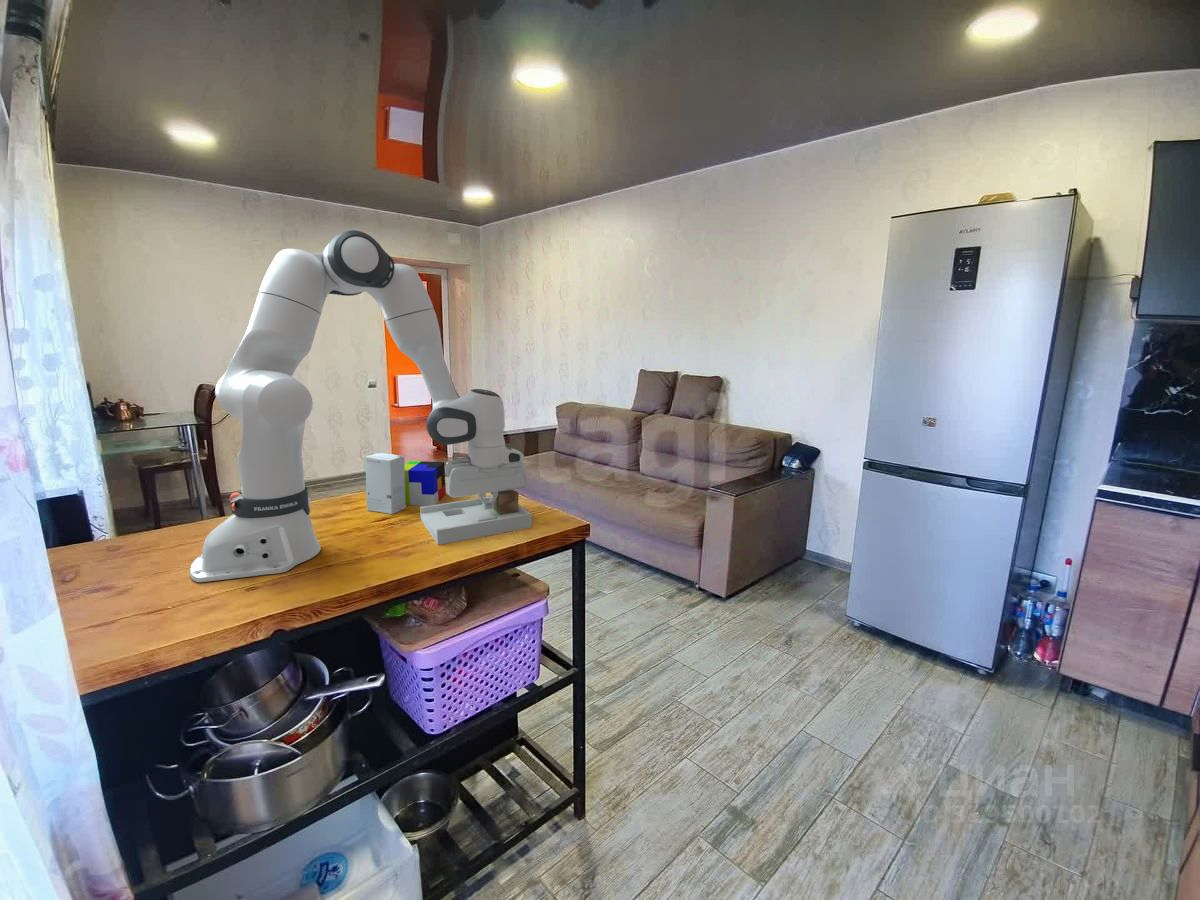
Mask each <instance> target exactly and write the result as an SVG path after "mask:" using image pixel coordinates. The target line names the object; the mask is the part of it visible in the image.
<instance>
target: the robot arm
mask: <svg viewBox="0 0 1200 900" xmlns="http://www.w3.org/2000/svg"><path fill="white" fill-rule="evenodd" d="M364 292H365V293H367V294H368V295H370V296H371V297H372V298H373V299H374V300H375V302H376V303H377V305H378V307H379V308H380V310H381V313H382V316H383V320H384V322H385V326H386V328H387V331H388V333H389V334H390V336H391V338H392V340H393V341H394V343H395V345H396V347H397V349H398V350H399V351H400V352H401V353H402V354H404V355H405V356H406V357H408V358H409V359H410V360H411V361H412V362H413V363H414V364H415V365H416V366H417V368H418V370H419V372H420V374H421V376H422V377H423V381H424V383H425V385H426V388H427V391H428V393H429V395H430V398H431V399H430V400H431V402H432V403H431V404H432V408H431V409H432V410H431V412H430V413H429V415H428V417H427V418H426V419H427V420H426V431H427V434H428V435H429V437H430V439H432V440H433V441H434V442H436V443H438V444H440V445H444V446H445V445H446V446H450V445H455V444H461V443H466V442H468V443H467V444H468V446H467V447H468V457H460V458H452V459H450V461H447V462H446V464H444V466H445V487H446V495H448V496H449V497H451V498H453V499H454V498H460V497H462V498H463V497H467V496H468V497H469V496H475V495H477V496H478V497H477V498H480V500H481V501H482V505H483V509H484V510H487V509H494V502H495V500H496V498H497V497H498V491H505V490H512V489H513V490H518V489H523V488H526V486H527V485H528V483H529V482H528V481H529V479H528V469H527V465H526V464H525V462H524V460H525V454H524V453H523V452H521V451H520V450H518V449H515V448H512V447H507V446H506V441H505V438H504V431H505V427H506V425H505V421H506V420H505V409H504V403H503V398H502V397H501V396H500V395H499V394H498V393H497V392H495V391H492V390H488V389H481V388H473V389H470V390H469V391H468V392H467V393H466V394H464V395H462V396H460V395H459V394H458V393H457V390H456V387H455V385H454V383H453V380H452V377H451V374H450V371H449V369H448V366H447V363H446V361H445V356H444V352H443V351H444V349H443V344H442V337H441V335H442V334H441V329H440V325H439V321H438V316H437V314H436V311H435V309H434V308H435V307H434V306H433V302H432V300H431V298H430V295H429V293H428V291H427V288H426V287H425V285H424V283H423V281H422V279H421V277H420V275H419V273H418V271H416V269H415V268H414V267H412V266H411V265H409V264H405V263H395V261H394V259H393V258H392V256H390V254H388V252H386V251H385V250H384V248H383V247H382V246H381V244H380V243H379V242H378V241H377V240H376V239H375V238H373V237H372V236H371V235H369V234H368V233H366V232H363V231H360V230H354V229H352V230H351V229H350V230H346V231H341V232H339V233H337V234H336V235H335V236H334V237H332V238H331V240H330V241H329V242H328V243H327V245H326V246H324V248H323V249H322V251H320V252H318V253H311V252H308V251H307V250H303V249H300V248H285V249H282V250H280V251H278V252H277V254H275V257H274V258H273V259H272V262H271V263H270V265H269V267H268V269H267V270H266V273H265V274H264V277H263V280H262V282H261V284H260V287H259V291H258V293H257V294H258V295H256V296H257V297H256V300H255V303H254V306H253V310H252V313H251V316H250V319H249V322H248V326H247V329H246V331H245V333H244V335H243V338H242V340H241V342H240V343H239V346H238V348H236V351H235V352H234V355H233V357H232V358H231V360H230V362H229V365H228V366H227V368H226V371H225V373H224V374H223V375H222V376H221V377H220V378H219V379H218V381H217V383H216V385H215V390H214V395H215V398H216V401H217V402H218V404H219V406H220V407H221V408H222V409H223V411H225V413H227V414H228V415H229V416H230V417H232V418H234V419H237V420H238V421H239V420H240V422H241V427H242V428H241V429H242V431H241V441H240V449H239V452H238V454H237V457H236V462H237V469H238V476H239V483H240V489H241V490H240V491H241V493H239V492H233V493H231V495H230V496H229V503H230V509H231V515H230V516H228V517H227V518H225V520H224V521H222V522H221V523H220V524H218V525H217V526H216V527H214V529H212V530H211V531H210V532H209V533H208V534H207V536H206V538H205V540H204V543H203V546H202V551H201V553H202V554H201V555H199V556H198V557H197V558H195V559H194V561H193V562H192V563H191V565H190V568H189V572H190V573H189V574H190V575H189V577H190V578H191V580H193V581H194V582H197V583H205V582H213V581H214V582H215V581H223V580H230V579H239V578H247V577H249V578H250V577H257V576H258V577H259V576H265V575H266V576H267V575H273V574H274V575H275V574H281V573H286V572H288V571H289V570H291V569H292V568H294V567H295V566H298V565H299V564H301V563H304V562H306V561H309V560H310V559H312V558H314V557H316V555H318V554H319V553H320V551H321V548H322V547H321V545H320V543H319V541H318V538H317V536H316V534H315V531H314V527H313V523H312V521H311V516H310V514H311V501H310V492H309V490H308V487H307V486H306V485H305V474H304V465H303V454H302V453H303V450H302V449H303V440H304V439H303V438H304V432H305V424H306V420H307V419H308V418H309V416H310V415H311V412H312V409H313V398H312V397H313V396H312V394H311V392H310V390H309V389H308V388H307V386H306V385H304V384H303V383H302V382H300V381H299V380H298V379H296V378H295V377H294V373H295V371H296V369H298V367H299V365H300V363H301V362H302V360H303V359H304V358H306V356H307V355H308V354H309V353H310V351H311V349H312V346H313V342H314V340H315V336H316V333H317V329H318V326H319V324H320V323H319V322H320V320H321V315H322V313H323V307H324V304H325V301H326V299H327V297H328V295H338V296H347V297H351V296H357V295H360V294H362V293H364ZM487 494H490V495H491V496H490V497H491V498H490V500H489V501H485V499H484V497H487Z"/></svg>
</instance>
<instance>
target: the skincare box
mask: <svg viewBox="0 0 1200 900" xmlns="http://www.w3.org/2000/svg"><path fill="white" fill-rule="evenodd" d="M364 459H365V463H364V464H365V488H366V489H365V494H366V510H367V511H369V512H375V513H382V514H383V513H384V514H389V515H393V514H395V513H397V512H400V511H402V510H404V509H406V505H405V456H404V455H399V454H393V453H384V452H377V453H373V454H370V455H369V454H368V455H366V456H364Z"/></svg>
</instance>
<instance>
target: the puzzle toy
mask: <svg viewBox="0 0 1200 900" xmlns="http://www.w3.org/2000/svg"><path fill="white" fill-rule="evenodd" d="M404 465H405V506H417V507H419V506H420V507H423V506H430V505H437V504H438V503H439V502H440V501H441V500H442V499H443V498H444V497H446V495H447V492H446V475H445V462H444V461H428V460H427V461H422V460H421V461H419V460H415V461H414V460H408V461H407V462H406V463H404Z"/></svg>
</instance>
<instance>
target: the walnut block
mask: <svg viewBox="0 0 1200 900" xmlns="http://www.w3.org/2000/svg"><path fill="white" fill-rule="evenodd" d="M519 494H520V493H519V492H518V491H516V489H512V490H505V491H498V497H497V498H496V500H495V502H494V510H495V511H496V512H497V513H499V514H506V513H515V512H518V504H519Z"/></svg>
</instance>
